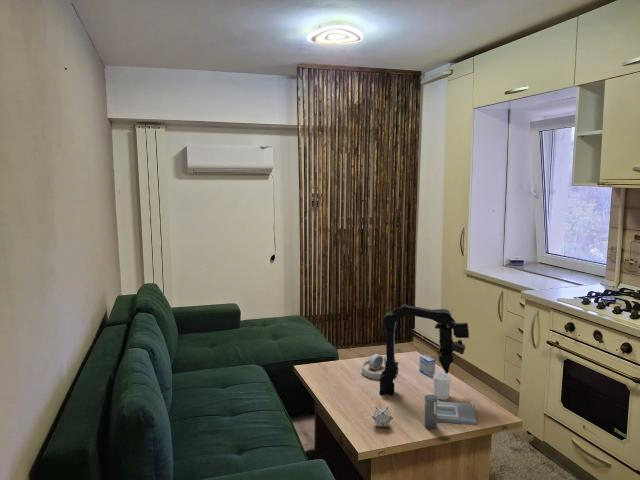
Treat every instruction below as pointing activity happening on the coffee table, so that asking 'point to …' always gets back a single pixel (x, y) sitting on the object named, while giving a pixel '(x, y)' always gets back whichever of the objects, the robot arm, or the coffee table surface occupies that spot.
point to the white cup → (441, 385)
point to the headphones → (373, 366)
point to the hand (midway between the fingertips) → (446, 369)
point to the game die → (382, 417)
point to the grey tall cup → (431, 412)
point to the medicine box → (427, 365)
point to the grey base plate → (455, 413)
